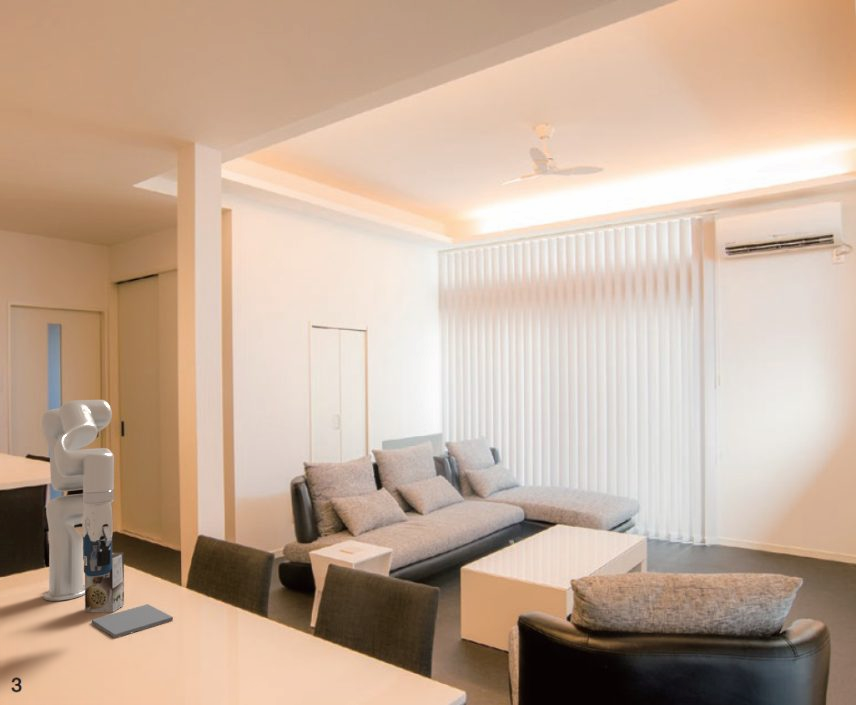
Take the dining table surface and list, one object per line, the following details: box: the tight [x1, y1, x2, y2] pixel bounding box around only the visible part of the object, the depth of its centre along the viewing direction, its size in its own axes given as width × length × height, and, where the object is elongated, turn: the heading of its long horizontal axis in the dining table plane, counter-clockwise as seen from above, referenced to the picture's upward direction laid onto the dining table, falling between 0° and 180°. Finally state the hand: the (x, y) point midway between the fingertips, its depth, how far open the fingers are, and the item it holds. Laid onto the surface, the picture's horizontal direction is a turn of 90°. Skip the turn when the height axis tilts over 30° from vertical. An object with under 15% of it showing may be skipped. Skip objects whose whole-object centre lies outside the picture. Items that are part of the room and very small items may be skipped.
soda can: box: [83, 532, 113, 577], centre depth 176 cm, size 7×7×12 cm
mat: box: [91, 603, 174, 638], centre depth 183 cm, size 16×16×1 cm
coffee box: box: [84, 552, 125, 613], centre depth 194 cm, size 9×6×16 cm
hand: (98, 561), depth 176 cm, fingers closed on soda can, 6 cm apart
